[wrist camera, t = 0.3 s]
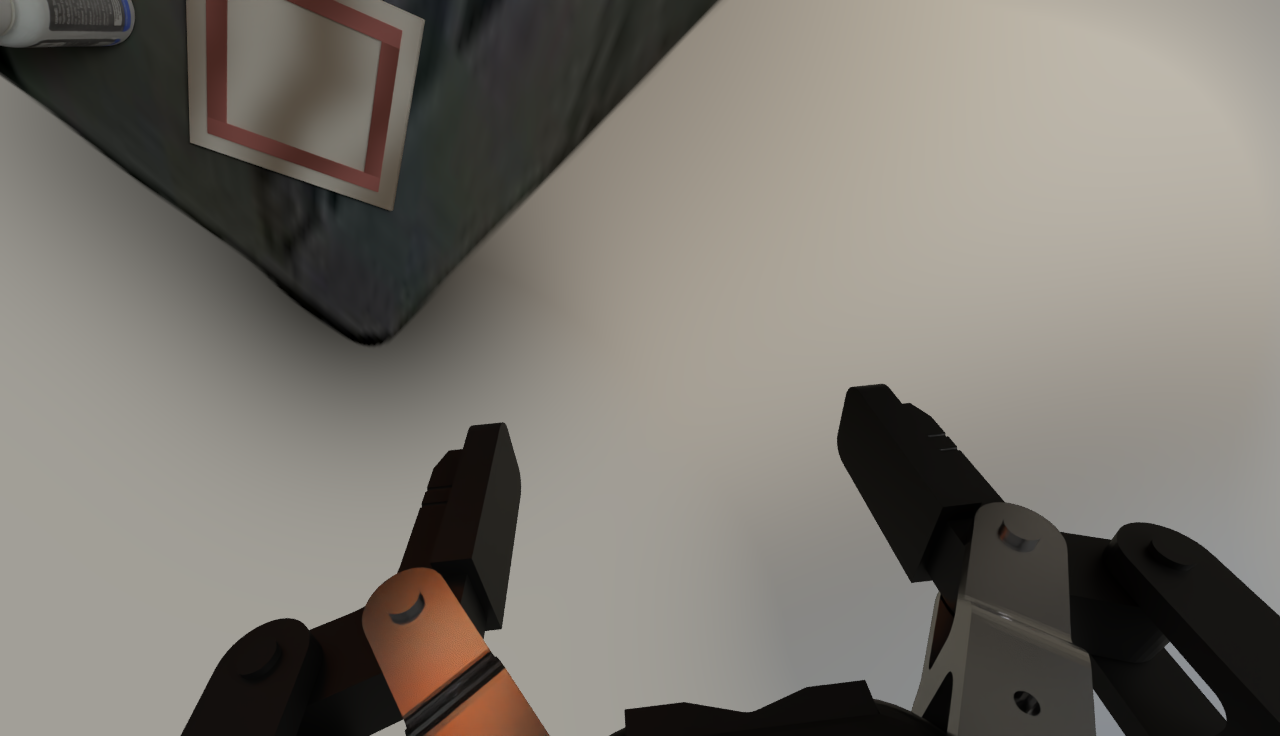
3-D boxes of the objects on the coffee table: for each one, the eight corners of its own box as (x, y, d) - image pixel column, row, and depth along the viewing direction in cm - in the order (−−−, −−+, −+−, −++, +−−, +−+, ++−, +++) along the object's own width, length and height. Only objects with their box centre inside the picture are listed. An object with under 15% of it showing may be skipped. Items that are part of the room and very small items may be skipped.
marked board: (194, 141, 32) (189, 142, 32) (188, -87, 27) (182, -89, 26) (393, 209, 36) (391, 211, 35) (424, 19, 30) (422, 19, 30)
